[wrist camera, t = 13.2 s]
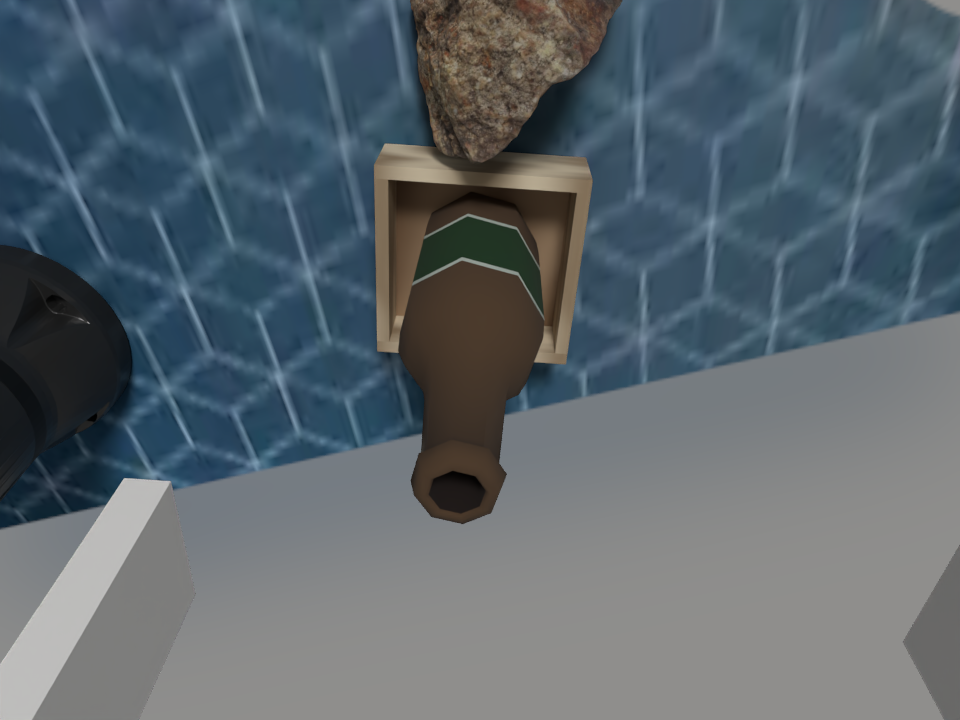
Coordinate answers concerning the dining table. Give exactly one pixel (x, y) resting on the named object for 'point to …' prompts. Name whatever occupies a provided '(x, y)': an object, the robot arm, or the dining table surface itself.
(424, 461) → the beer bottle
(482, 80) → the rock
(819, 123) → the dining table surface
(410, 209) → the caddy
